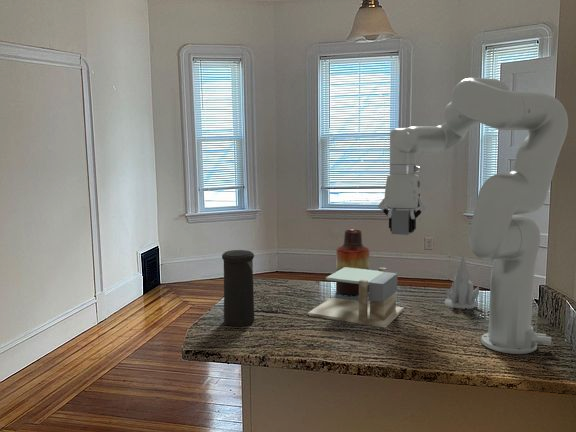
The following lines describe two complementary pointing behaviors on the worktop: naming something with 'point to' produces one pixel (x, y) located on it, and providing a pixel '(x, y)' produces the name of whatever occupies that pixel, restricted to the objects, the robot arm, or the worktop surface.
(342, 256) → the vase
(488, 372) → the worktop surface
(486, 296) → the worktop surface
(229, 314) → the container
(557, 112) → the robot arm
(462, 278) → the crystal
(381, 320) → the frame
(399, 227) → the basalt block
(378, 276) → the trapdoor
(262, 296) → the worktop surface
